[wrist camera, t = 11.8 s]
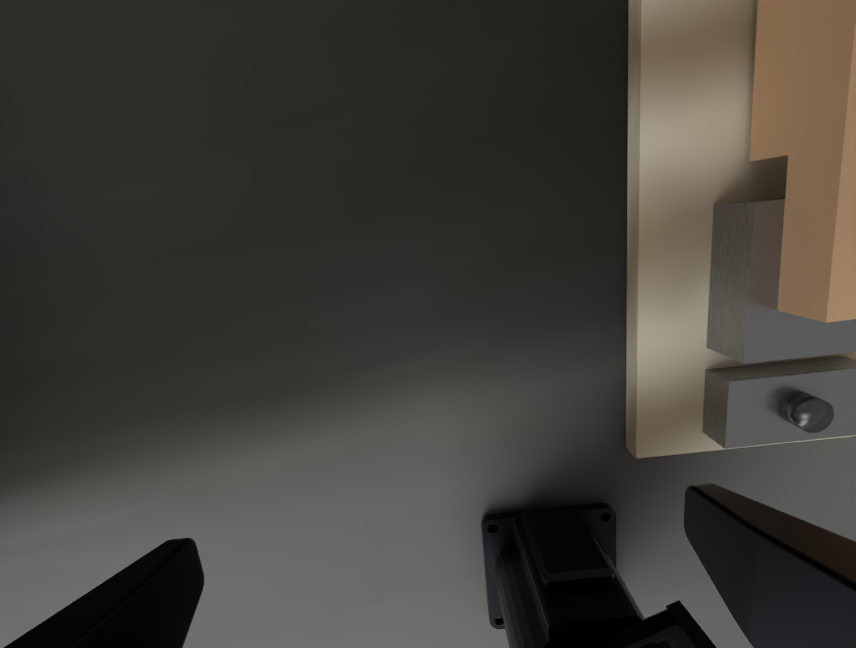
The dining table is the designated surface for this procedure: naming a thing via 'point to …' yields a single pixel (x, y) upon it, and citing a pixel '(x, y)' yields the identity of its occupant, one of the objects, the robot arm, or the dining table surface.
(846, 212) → the master link
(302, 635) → the dining table surface
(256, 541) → the dining table surface
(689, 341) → the board
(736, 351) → the lower chain end
